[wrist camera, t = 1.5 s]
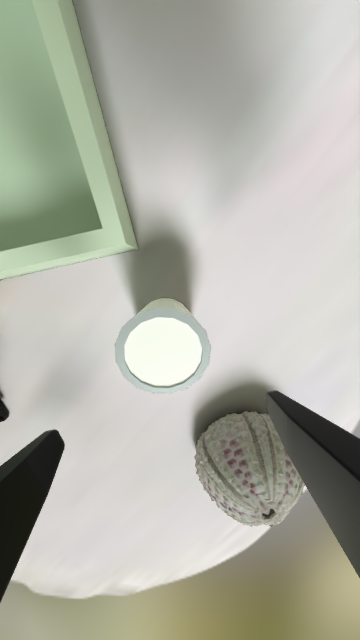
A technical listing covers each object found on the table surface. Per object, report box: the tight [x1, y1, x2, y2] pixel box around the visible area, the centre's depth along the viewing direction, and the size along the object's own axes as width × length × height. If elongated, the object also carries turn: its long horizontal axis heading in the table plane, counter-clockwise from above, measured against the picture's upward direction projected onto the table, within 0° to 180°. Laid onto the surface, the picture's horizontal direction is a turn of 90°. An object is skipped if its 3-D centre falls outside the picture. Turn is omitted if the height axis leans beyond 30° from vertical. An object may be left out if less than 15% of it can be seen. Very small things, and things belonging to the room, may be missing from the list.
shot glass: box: [115, 298, 211, 394], centre depth 16 cm, size 7×7×7 cm
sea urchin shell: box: [195, 411, 305, 527], centre depth 21 cm, size 13×14×8 cm
